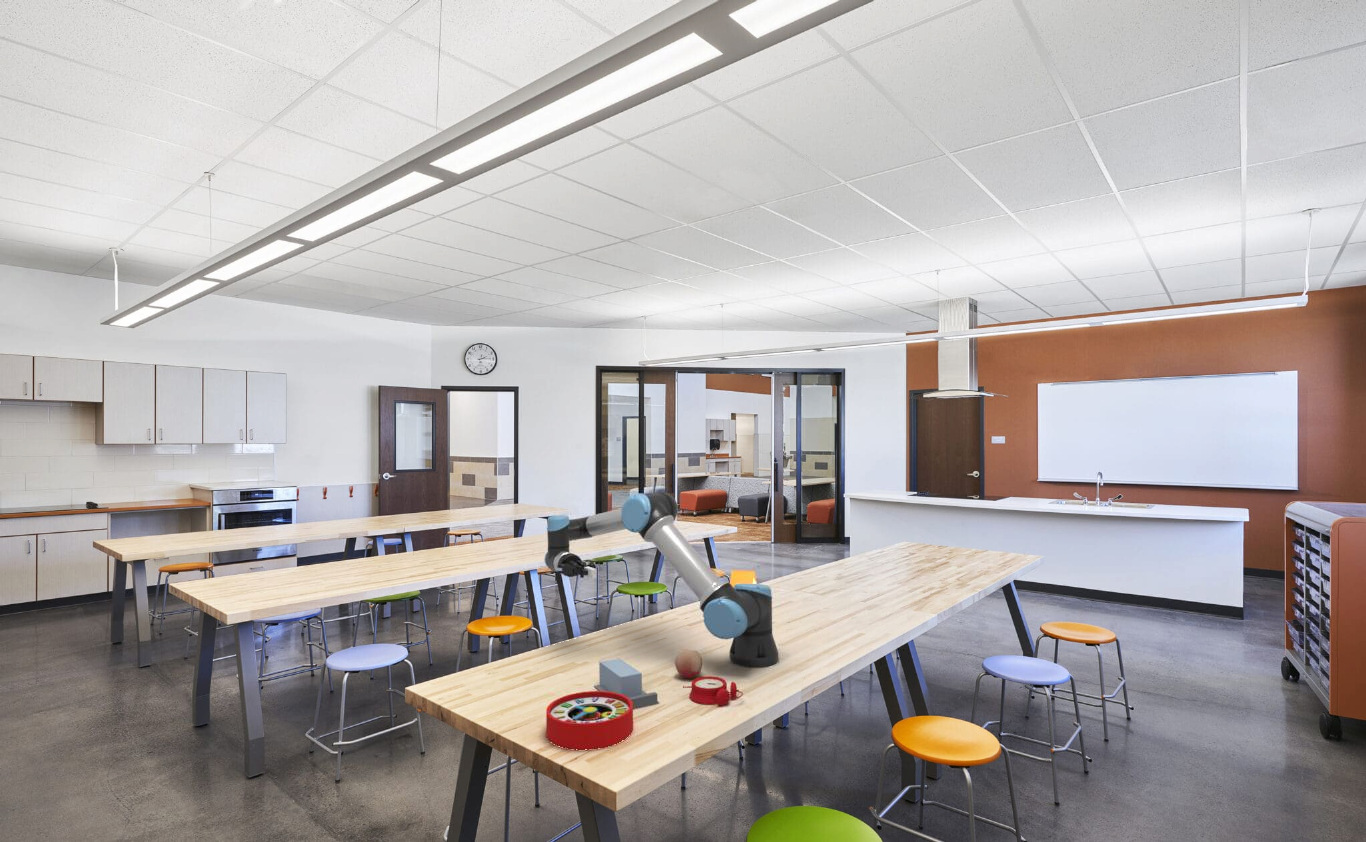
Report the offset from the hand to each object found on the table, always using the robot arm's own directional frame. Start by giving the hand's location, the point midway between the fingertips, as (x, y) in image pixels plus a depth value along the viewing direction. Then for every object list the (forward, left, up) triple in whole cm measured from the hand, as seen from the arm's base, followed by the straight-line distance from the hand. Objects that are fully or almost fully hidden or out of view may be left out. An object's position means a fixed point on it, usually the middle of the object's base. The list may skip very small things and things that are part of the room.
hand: (594, 573), depth 202 cm
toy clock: (-29, +38, -28) cm, 56 cm away
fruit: (-31, -4, -28) cm, 42 cm away
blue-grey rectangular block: (-13, +11, -24) cm, 30 cm away
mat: (-23, +16, -27) cm, 39 cm away
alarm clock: (-45, +7, -28) cm, 53 cm away
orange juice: (-21, -62, -28) cm, 71 cm away
